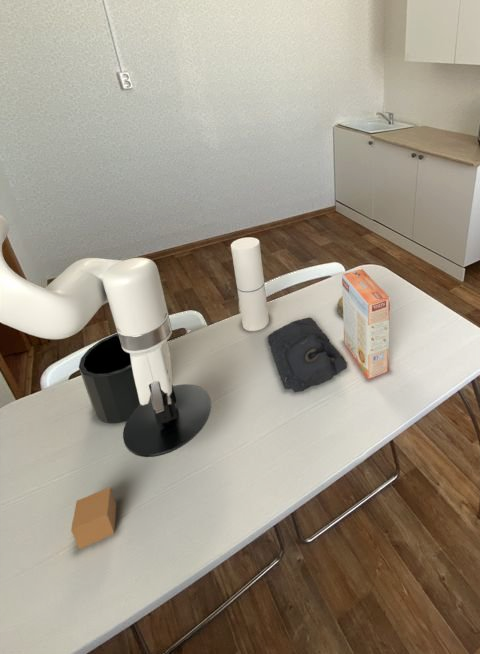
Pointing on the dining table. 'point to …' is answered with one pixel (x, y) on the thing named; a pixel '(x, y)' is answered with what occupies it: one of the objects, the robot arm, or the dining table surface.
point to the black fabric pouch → (304, 355)
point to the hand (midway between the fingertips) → (167, 411)
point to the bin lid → (167, 423)
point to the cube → (94, 518)
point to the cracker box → (366, 322)
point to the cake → (340, 307)
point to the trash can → (109, 380)
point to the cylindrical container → (250, 283)
